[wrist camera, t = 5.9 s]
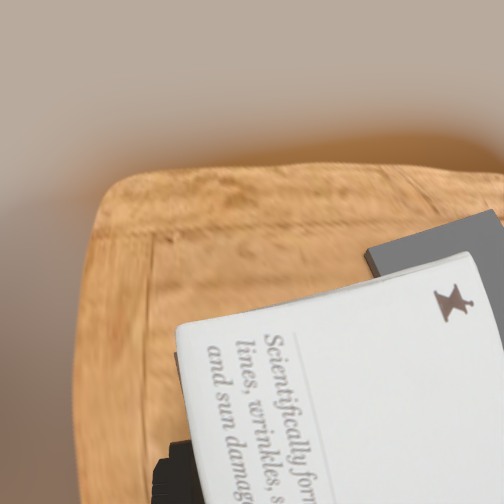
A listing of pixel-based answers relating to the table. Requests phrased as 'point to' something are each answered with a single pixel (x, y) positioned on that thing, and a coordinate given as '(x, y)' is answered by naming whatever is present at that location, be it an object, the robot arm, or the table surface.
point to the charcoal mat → (450, 243)
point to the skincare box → (352, 394)
